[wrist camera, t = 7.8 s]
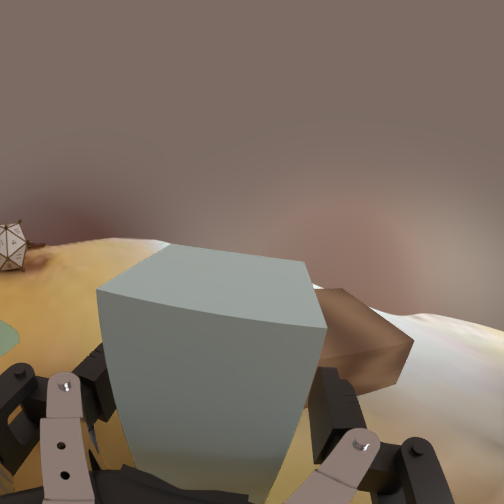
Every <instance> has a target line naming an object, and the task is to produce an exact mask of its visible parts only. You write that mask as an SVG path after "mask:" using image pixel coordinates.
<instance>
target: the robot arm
mask: <svg viewBox="0 0 504 504" xmlns="http://www.w3.org/2000/svg"><path fill="white" fill-rule="evenodd" d="M19 404H20V406H21V408H22V411H21V412H20V413H19V414H18V415H17V416H16V418H15V419H14V420H13V421H12V422H11V423H10V424H9V425H8V422H7V421H8V417H9V415H10V414H11V413H12V412H13V411H14V410H15V409H16V408H17V407H18V406H19ZM116 408H117V407H116V404H115V400H114V396H113V392H112V387H111V383H110V379H109V374H108V369H107V364H106V359H105V354H104V348H103V343H101V344H100V345H99V346H98V347H97V348H96V349H95V350H94V351H92V352H91V353H90V354H89V356H87V357H86V358H85V359H84V360H83V361H82V362H81V363H80V364H79V365H78V366H77V367H76V368H75V369H74V370H73V371H72V372H71V373H70V372H59V373H56V374H54V375H53V376H51V377H50V379H49V378H44V377H40V376H35V373H34V370H33V368H32V367H31V366H30V365H29V364H26V363H17V364H14V365H12V366H11V367H9V368H8V369H7V370H6V371H5V372H4V373H2V374H1V375H0V504H254V503H251V502H248V499H249V495H248V494H239V493H232V492H225V491H219V490H184V489H180V488H177V487H175V486H173V485H171V484H169V483H167V482H165V481H164V480H162V479H160V478H158V477H156V476H154V475H153V474H150V473H147V472H144V471H141V470H138V469H136V468H133V467H130V466H127V465H125V464H123V466H122V468H121V470H106V468H105V465H104V463H103V459H102V455H101V451H100V446H99V442H98V437H97V432H96V427H95V424H94V423H95V422H96V420H97V419H99V420H102V421H104V422H106V423H107V422H108V420H109V419H110V417H111V416H112V414H113V413H114V411H115V410H116ZM308 411H309V420H310V429H311V440H312V450H313V461H314V464H322V465H321V466H320V467H319V468H318V469H316V470H315V471H314V472H313V473H312V474H311V475H310V476H309V477H308V478H307V479H306V480H305V482H304V483H303V484H302V485H301V486H300V487H299V488H298V489H297V490H296V491H295V492H294V493H293V494H292V495H291V496H290V497H289V498H288V499H287V500H286V501H285V502H284V503H283V504H349V502H350V501H351V499H352V498H353V496H354V495H355V493H356V491H357V490H360V491H366V492H370V494H371V500H372V504H455V503H454V500H453V498H452V495H451V492H450V489H449V487H448V484H447V481H446V479H445V476H444V473H443V471H442V468H441V466H440V463H439V461H438V458H437V456H436V454H435V451H434V449H433V447H432V445H431V444H430V443H429V442H428V441H427V440H425V439H423V438H419V437H412V438H409V439H407V440H405V441H404V442H403V444H402V445H394V444H388V443H383V442H380V439H379V438H378V436H377V435H376V434H375V433H374V432H372V431H370V430H368V429H367V427H366V424H365V420H364V417H363V414H362V411H361V408H360V405H359V402H358V399H357V397H356V393H355V390H354V387H353V386H352V385H351V384H350V382H349V381H348V380H347V379H340V377H339V374H338V371H337V368H336V367H322V366H319V367H318V368H317V371H316V374H315V377H314V380H313V384H312V387H311V390H310V393H309V398H308ZM39 440H40V452H41V467H42V478H43V486H41V487H37V488H33V489H28V490H24V491H18V492H15V488H14V486H13V476H14V474H15V473H16V472H17V470H18V469H19V467H20V466H21V465H22V463H23V462H24V460H25V459H26V458H27V456H28V455H29V454H30V452H31V451H32V449H33V448H34V447H35V445H36V444H37V443H38V441H39Z"/></svg>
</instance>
